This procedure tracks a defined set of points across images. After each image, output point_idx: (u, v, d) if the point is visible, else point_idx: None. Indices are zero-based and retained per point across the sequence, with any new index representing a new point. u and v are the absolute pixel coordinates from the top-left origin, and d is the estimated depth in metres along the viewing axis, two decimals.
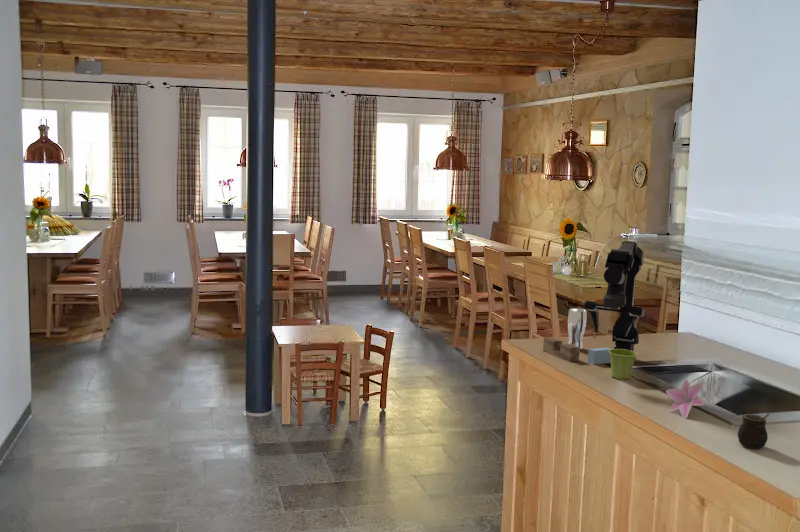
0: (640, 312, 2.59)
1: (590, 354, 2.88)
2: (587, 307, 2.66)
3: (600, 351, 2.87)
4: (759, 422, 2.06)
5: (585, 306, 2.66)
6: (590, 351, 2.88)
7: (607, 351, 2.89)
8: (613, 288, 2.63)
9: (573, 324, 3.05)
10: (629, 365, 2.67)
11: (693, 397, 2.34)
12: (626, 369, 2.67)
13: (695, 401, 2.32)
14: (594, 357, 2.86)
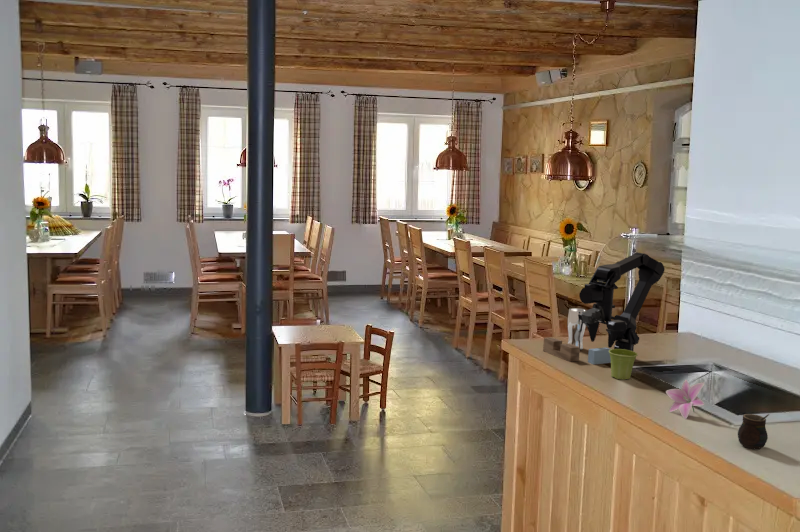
0: (613, 327, 2.78)
1: (590, 354, 2.88)
2: (581, 318, 2.93)
3: (600, 351, 2.87)
4: (759, 422, 2.06)
5: (580, 317, 2.94)
6: (590, 351, 2.88)
7: (607, 351, 2.89)
8: (597, 303, 2.86)
9: (573, 324, 3.05)
10: (629, 365, 2.67)
11: (693, 397, 2.33)
12: (626, 369, 2.67)
13: (695, 402, 2.32)
14: (594, 357, 2.86)
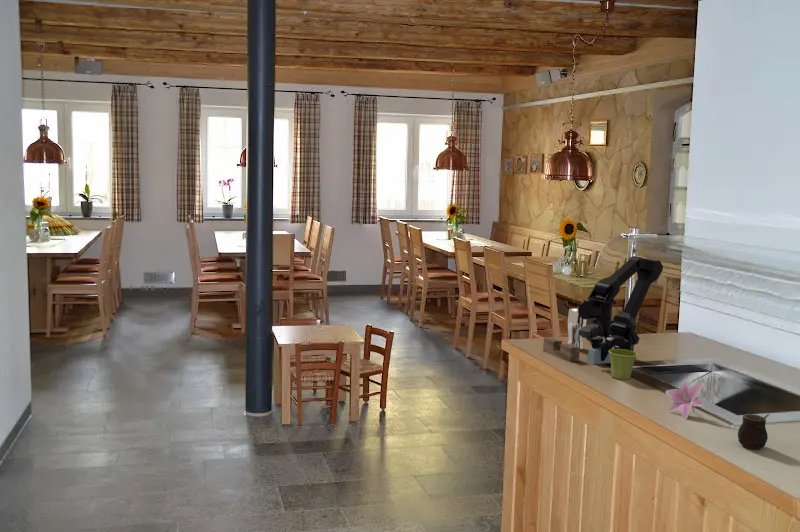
0: (612, 343, 2.79)
1: (590, 353, 2.88)
2: (580, 333, 2.94)
3: (600, 351, 2.87)
4: (759, 422, 2.06)
5: (579, 332, 2.95)
6: (590, 351, 2.88)
7: None
8: (595, 318, 2.87)
9: (573, 324, 3.05)
10: (629, 365, 2.67)
11: (693, 397, 2.33)
12: (626, 369, 2.67)
13: (695, 402, 2.32)
14: (594, 357, 2.86)
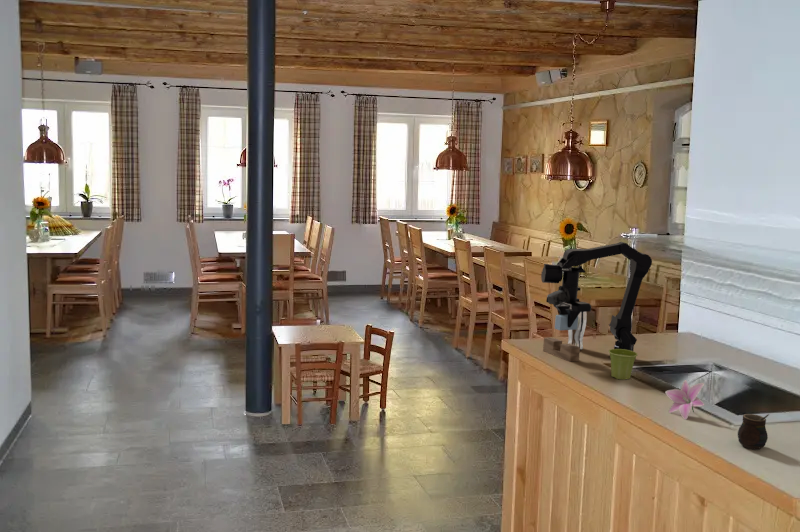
0: (578, 309, 2.84)
1: (556, 320, 2.92)
2: (547, 301, 2.99)
3: (567, 317, 2.92)
4: (759, 422, 2.06)
5: (546, 300, 2.99)
6: (557, 317, 2.92)
7: None
8: (563, 285, 2.91)
9: None
10: (629, 365, 2.67)
11: (693, 398, 2.33)
12: (626, 369, 2.67)
13: (695, 402, 2.31)
14: (561, 323, 2.91)
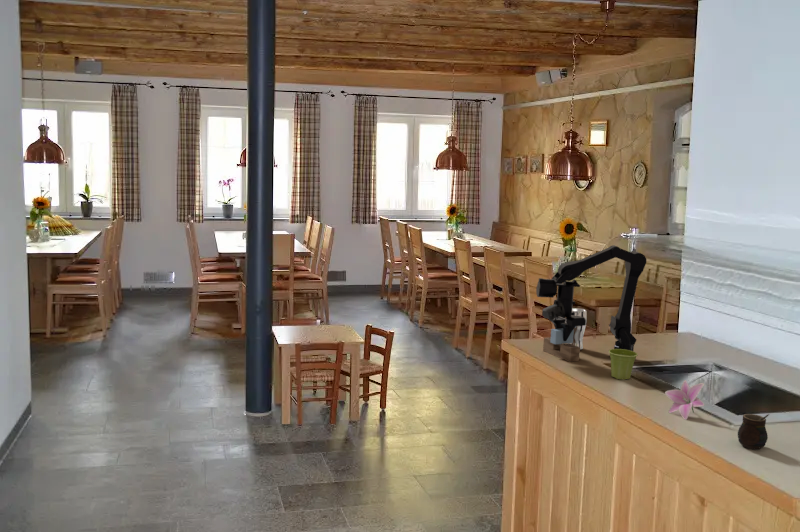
0: (572, 323, 2.85)
1: (552, 333, 2.94)
2: (543, 315, 3.00)
3: (562, 331, 2.93)
4: (759, 422, 2.06)
5: (542, 313, 3.01)
6: (552, 331, 2.94)
7: None
8: (558, 299, 2.93)
9: None
10: (629, 365, 2.67)
11: (693, 398, 2.33)
12: (626, 369, 2.67)
13: (695, 402, 2.31)
14: (556, 337, 2.93)
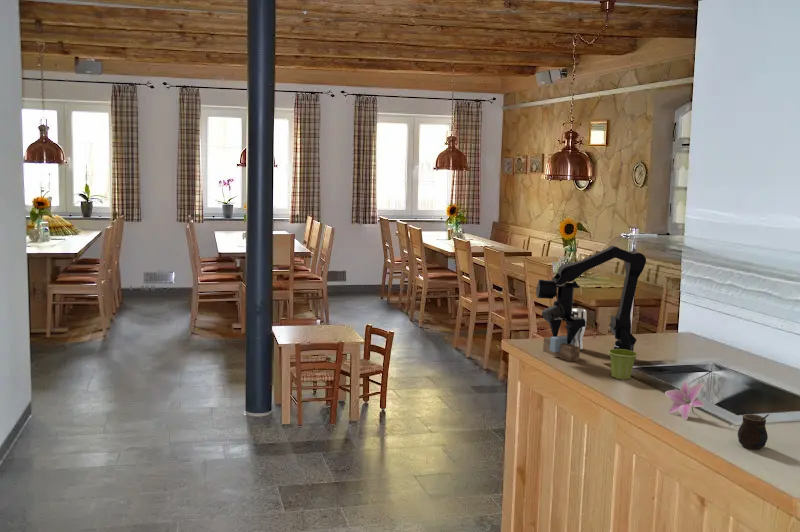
0: (572, 324, 2.86)
1: (551, 341, 2.95)
2: (543, 316, 3.00)
3: (561, 339, 2.94)
4: (759, 422, 2.06)
5: (542, 315, 3.01)
6: (552, 339, 2.94)
7: None
8: (557, 300, 2.93)
9: None
10: (629, 365, 2.67)
11: (693, 398, 2.32)
12: (626, 369, 2.67)
13: (695, 403, 2.31)
14: (555, 345, 2.93)
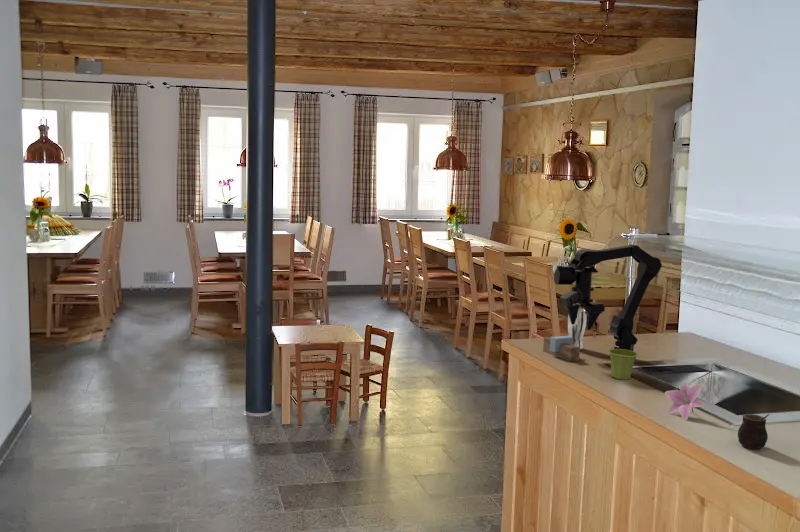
0: (591, 309, 2.82)
1: (551, 341, 2.95)
2: (561, 302, 2.98)
3: (561, 339, 2.94)
4: (759, 422, 2.06)
5: (560, 301, 2.98)
6: (552, 339, 2.94)
7: (568, 339, 2.95)
8: (576, 286, 2.90)
9: (573, 324, 3.05)
10: (629, 365, 2.67)
11: (692, 398, 2.32)
12: (626, 369, 2.67)
13: (695, 403, 2.31)
14: (555, 345, 2.93)
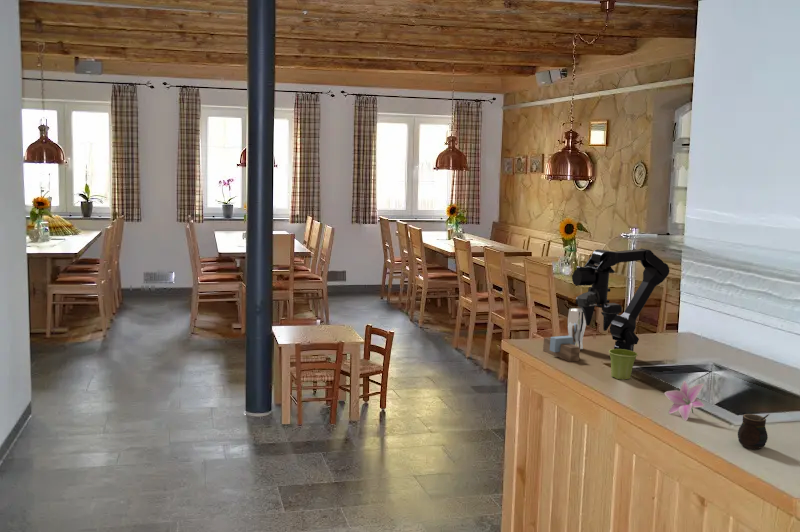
0: (608, 310, 2.80)
1: (551, 341, 2.95)
2: (577, 302, 2.95)
3: (561, 339, 2.94)
4: (759, 422, 2.06)
5: (576, 301, 2.96)
6: (552, 339, 2.94)
7: (568, 339, 2.95)
8: (592, 286, 2.88)
9: (573, 324, 3.05)
10: (629, 365, 2.67)
11: (692, 399, 2.32)
12: (626, 369, 2.67)
13: (695, 403, 2.31)
14: (555, 345, 2.93)
